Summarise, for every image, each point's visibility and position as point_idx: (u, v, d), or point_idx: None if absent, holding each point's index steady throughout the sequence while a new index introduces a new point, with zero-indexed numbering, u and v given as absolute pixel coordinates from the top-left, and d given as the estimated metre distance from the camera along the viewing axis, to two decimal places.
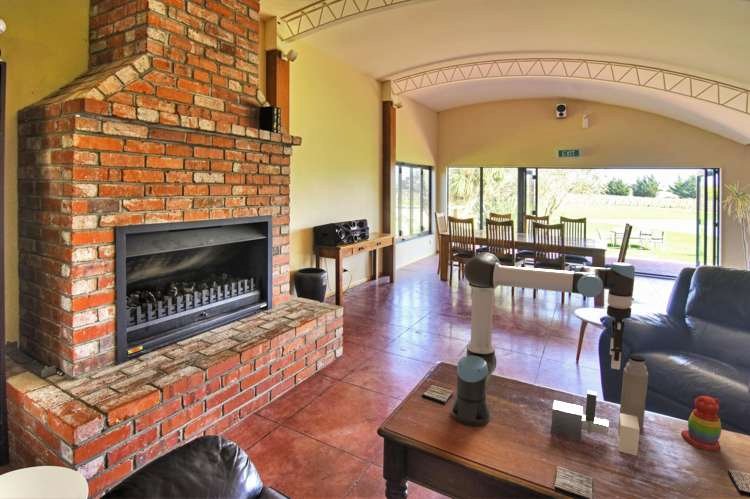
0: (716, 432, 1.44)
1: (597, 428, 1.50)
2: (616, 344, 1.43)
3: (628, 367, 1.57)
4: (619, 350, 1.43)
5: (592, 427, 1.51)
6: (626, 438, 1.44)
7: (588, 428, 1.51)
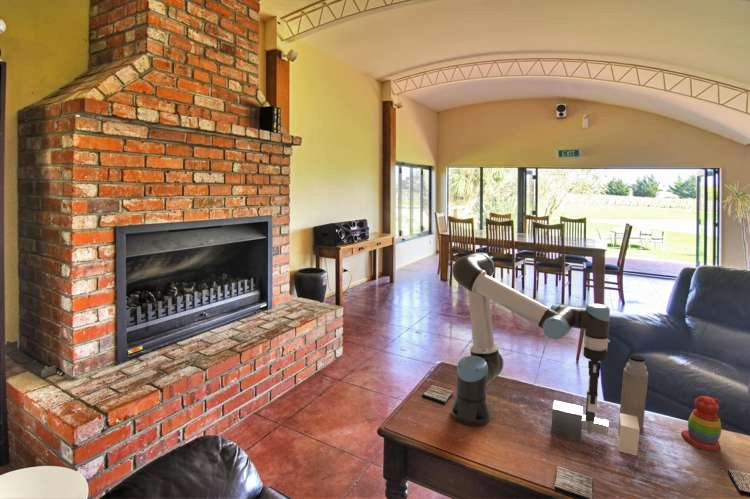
0: (716, 432, 1.44)
1: (597, 428, 1.50)
2: (592, 388, 1.42)
3: (628, 367, 1.57)
4: (595, 394, 1.41)
5: (592, 427, 1.51)
6: (626, 438, 1.44)
7: (588, 428, 1.51)
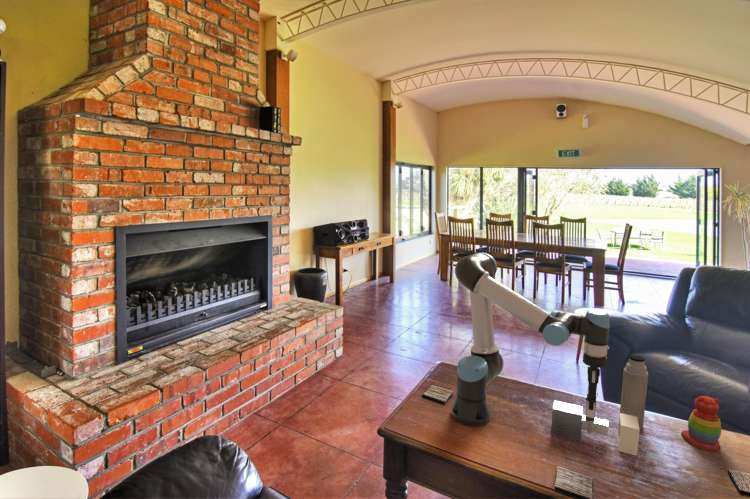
0: (716, 432, 1.44)
1: (597, 428, 1.50)
2: (590, 396, 1.46)
3: (628, 367, 1.57)
4: (593, 400, 1.46)
5: (592, 427, 1.51)
6: (626, 438, 1.44)
7: (588, 428, 1.51)
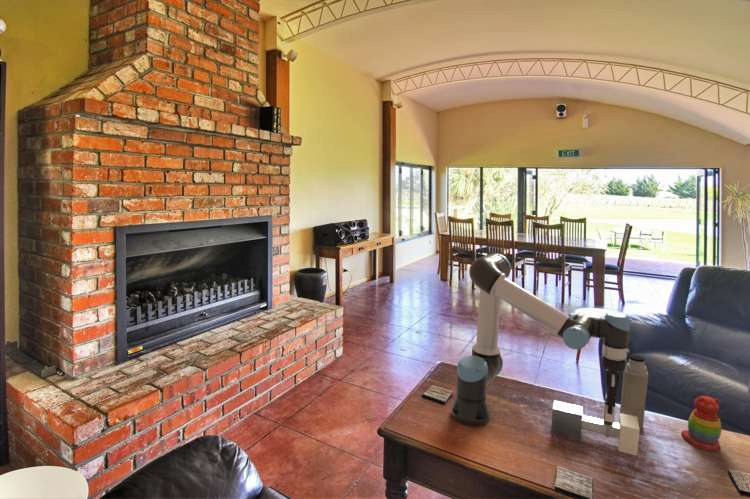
0: (716, 432, 1.44)
1: (616, 433, 1.47)
2: (609, 400, 1.44)
3: (628, 367, 1.57)
4: (612, 404, 1.44)
5: (611, 431, 1.48)
6: (626, 438, 1.44)
7: (607, 432, 1.48)
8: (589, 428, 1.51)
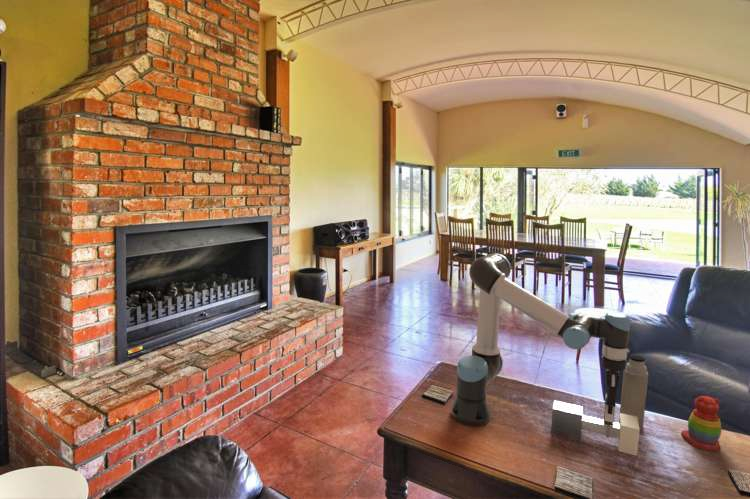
0: (716, 432, 1.44)
1: (616, 433, 1.47)
2: (610, 400, 1.44)
3: (628, 367, 1.57)
4: (612, 404, 1.44)
5: (611, 431, 1.48)
6: (626, 438, 1.44)
7: (607, 432, 1.48)
8: (589, 428, 1.51)
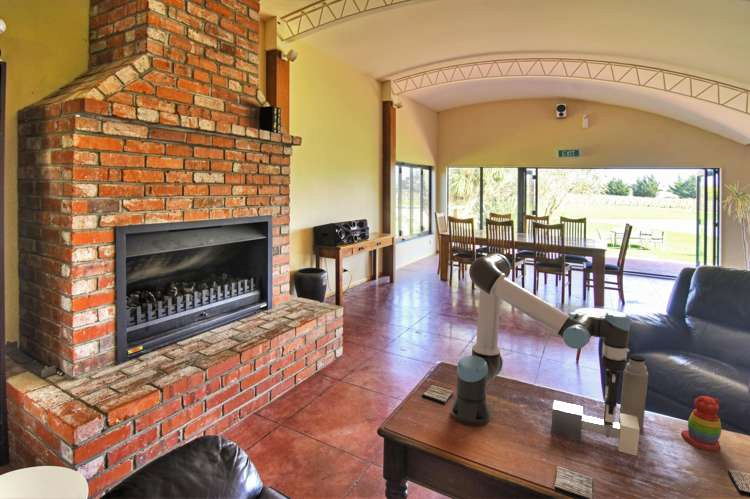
0: (716, 432, 1.44)
1: (616, 433, 1.47)
2: (610, 398, 1.40)
3: (628, 367, 1.57)
4: (613, 404, 1.39)
5: (611, 431, 1.48)
6: (626, 438, 1.44)
7: (607, 432, 1.48)
8: (589, 428, 1.51)
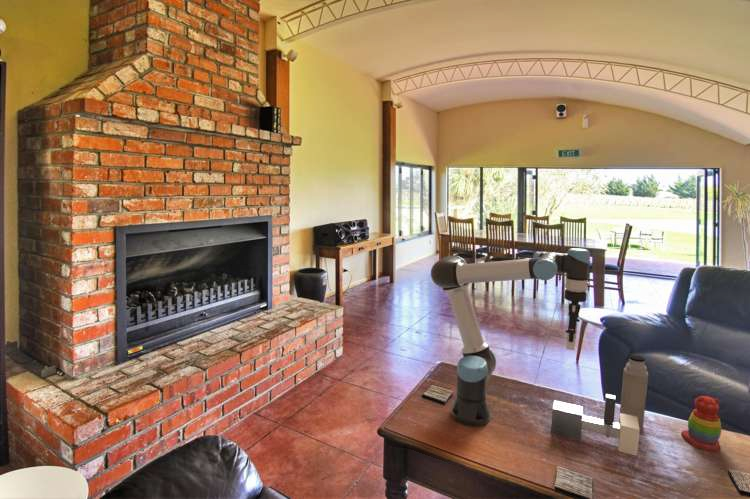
0: (716, 432, 1.44)
1: (616, 433, 1.47)
2: (570, 326, 1.50)
3: (628, 367, 1.57)
4: (573, 331, 1.49)
5: (611, 431, 1.48)
6: (626, 438, 1.44)
7: (607, 432, 1.48)
8: (589, 428, 1.51)
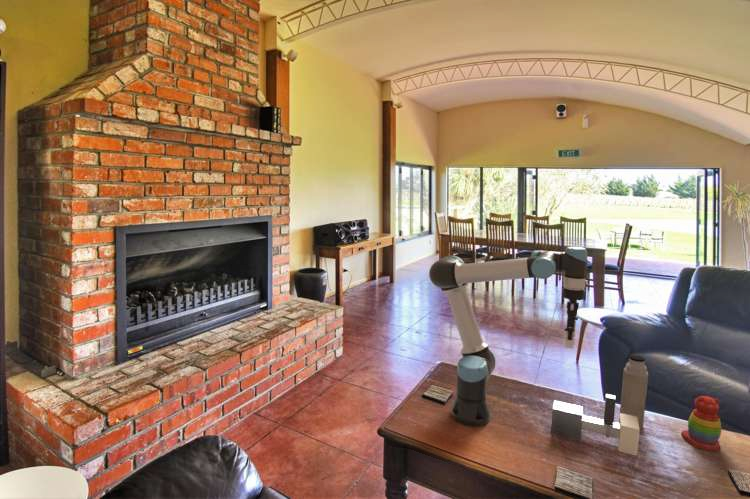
0: (716, 432, 1.44)
1: (616, 433, 1.47)
2: (569, 324, 1.50)
3: (628, 367, 1.57)
4: (571, 329, 1.49)
5: (611, 431, 1.48)
6: (626, 438, 1.44)
7: (607, 432, 1.48)
8: (589, 428, 1.51)
